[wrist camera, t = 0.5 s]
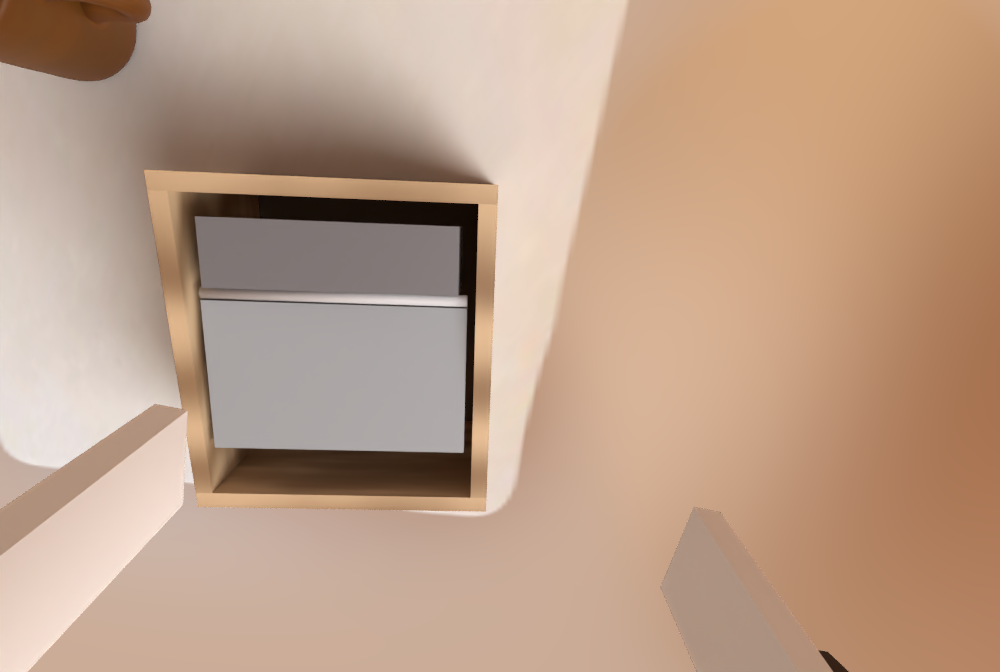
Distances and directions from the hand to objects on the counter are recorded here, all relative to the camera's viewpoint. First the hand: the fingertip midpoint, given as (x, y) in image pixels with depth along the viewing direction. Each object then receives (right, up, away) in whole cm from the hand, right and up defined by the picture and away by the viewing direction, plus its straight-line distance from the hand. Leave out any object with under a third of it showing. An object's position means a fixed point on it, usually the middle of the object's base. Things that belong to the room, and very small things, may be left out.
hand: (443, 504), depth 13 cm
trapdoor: (-8, +5, +19) cm, 21 cm away
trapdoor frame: (-8, +6, +26) cm, 28 cm away
